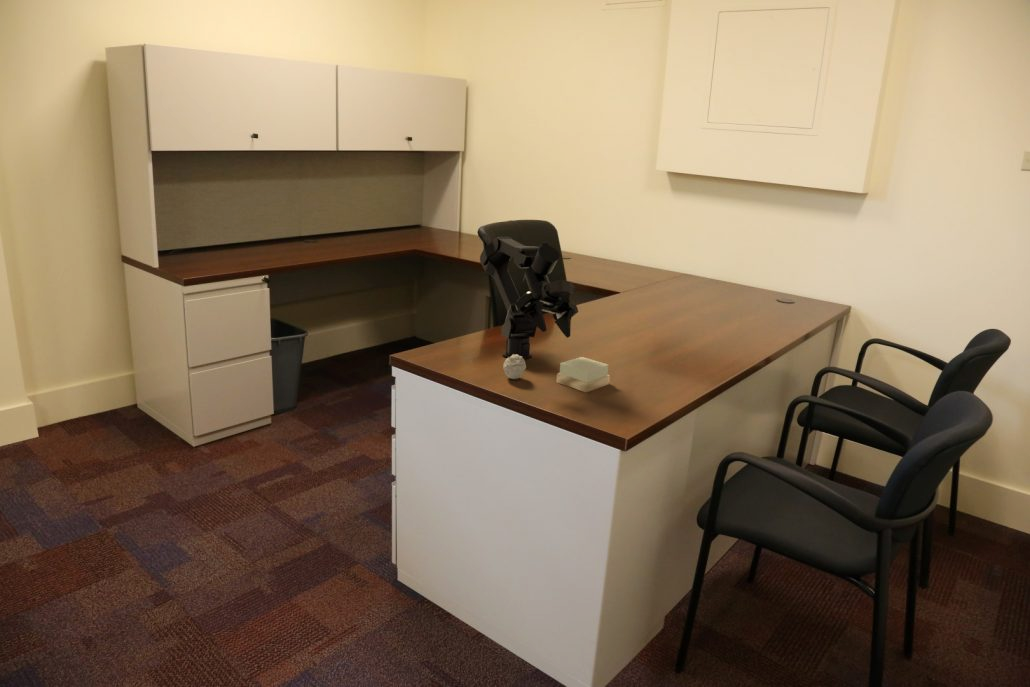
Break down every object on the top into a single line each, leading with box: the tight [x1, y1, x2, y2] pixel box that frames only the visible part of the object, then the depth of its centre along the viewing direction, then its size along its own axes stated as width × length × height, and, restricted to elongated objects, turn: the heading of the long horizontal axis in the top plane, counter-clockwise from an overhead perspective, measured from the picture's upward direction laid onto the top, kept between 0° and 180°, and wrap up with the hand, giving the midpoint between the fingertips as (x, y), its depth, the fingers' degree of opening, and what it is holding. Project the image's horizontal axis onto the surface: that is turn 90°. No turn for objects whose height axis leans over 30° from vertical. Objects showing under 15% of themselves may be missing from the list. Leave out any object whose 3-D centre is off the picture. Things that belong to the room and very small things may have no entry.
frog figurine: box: [502, 354, 527, 380], centre depth 191 cm, size 6×7×7 cm
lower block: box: [556, 372, 611, 393], centre depth 191 cm, size 10×10×3 cm
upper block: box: [559, 356, 609, 383], centre depth 190 cm, size 9×9×3 cm
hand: (557, 334), depth 186 cm, fingers open, 9 cm apart
